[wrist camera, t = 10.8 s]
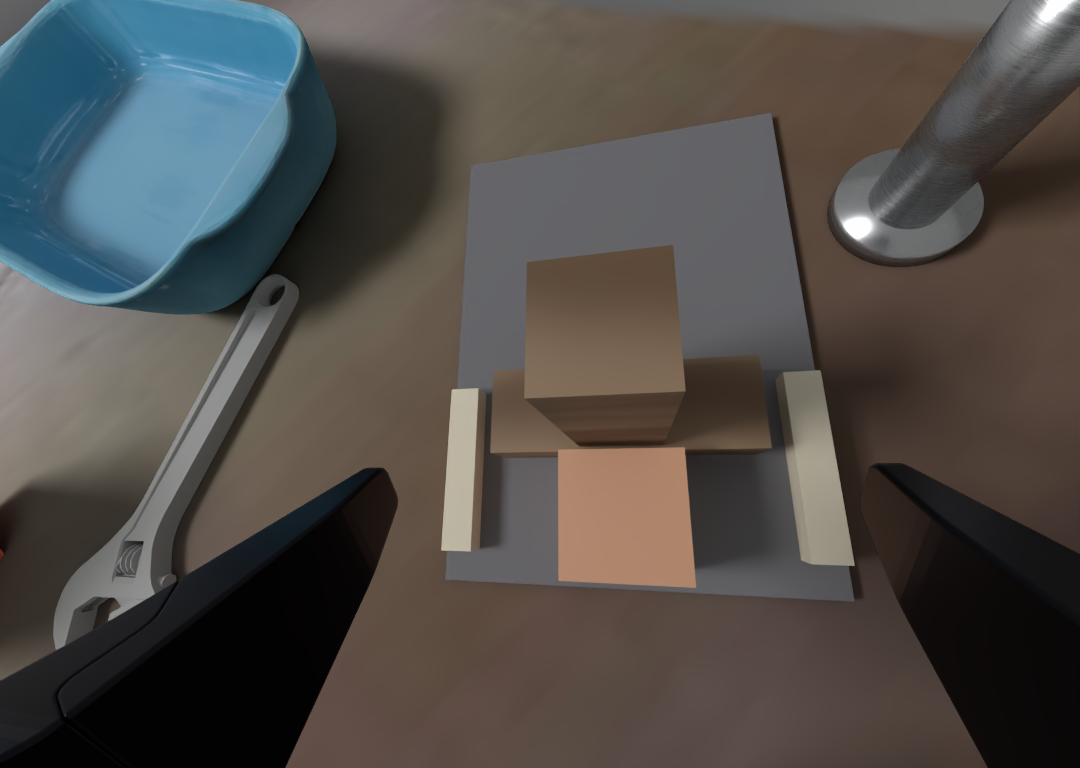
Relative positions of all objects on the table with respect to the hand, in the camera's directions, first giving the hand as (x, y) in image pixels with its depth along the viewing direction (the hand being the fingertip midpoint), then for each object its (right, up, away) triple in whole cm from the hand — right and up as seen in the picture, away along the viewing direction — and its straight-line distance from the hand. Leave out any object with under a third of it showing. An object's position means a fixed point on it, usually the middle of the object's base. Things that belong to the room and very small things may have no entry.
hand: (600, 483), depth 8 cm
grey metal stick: (+17, +10, +13) cm, 24 cm away
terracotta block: (+3, -4, +12) cm, 13 cm away
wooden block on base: (+3, 0, +13) cm, 14 cm away
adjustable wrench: (-22, -3, +19) cm, 30 cm away
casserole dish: (-30, +18, +27) cm, 45 cm away
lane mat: (+3, +4, +15) cm, 16 cm away
